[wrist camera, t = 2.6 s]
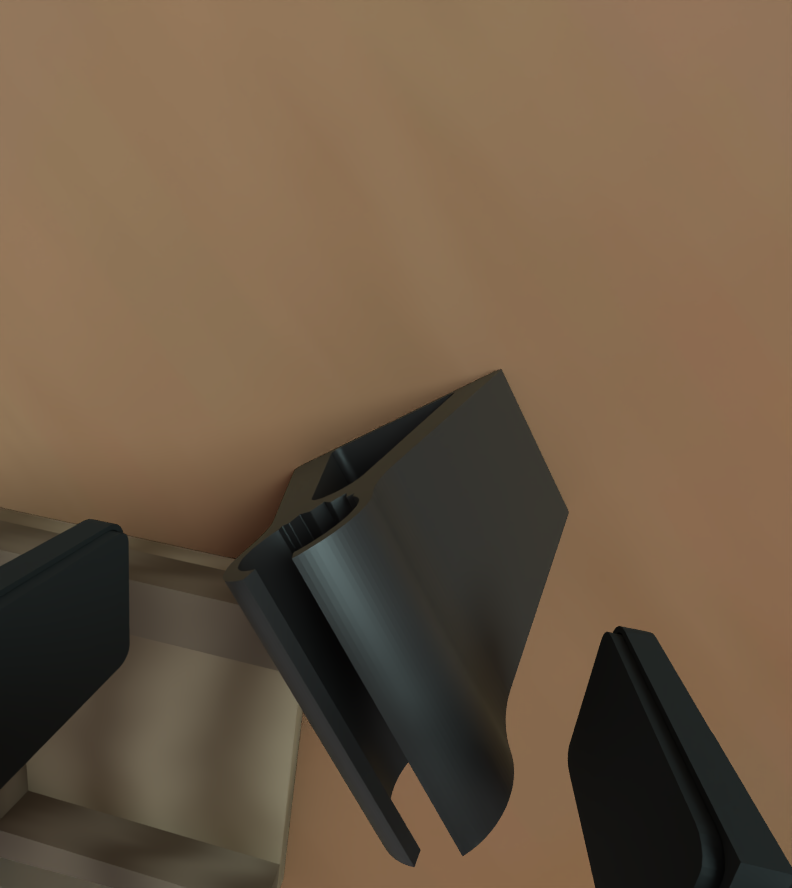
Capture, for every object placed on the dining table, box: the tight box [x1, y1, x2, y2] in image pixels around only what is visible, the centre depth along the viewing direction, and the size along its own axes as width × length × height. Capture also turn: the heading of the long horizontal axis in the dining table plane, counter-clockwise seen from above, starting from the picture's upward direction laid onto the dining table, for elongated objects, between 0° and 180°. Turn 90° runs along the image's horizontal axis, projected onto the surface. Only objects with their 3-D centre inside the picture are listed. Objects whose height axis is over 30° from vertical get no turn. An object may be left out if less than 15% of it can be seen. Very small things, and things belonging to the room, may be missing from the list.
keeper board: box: [0, 508, 303, 888], centre depth 21 cm, size 18×18×7 cm
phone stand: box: [223, 369, 569, 867], centre depth 14 cm, size 9×6×12 cm, turn 117°
